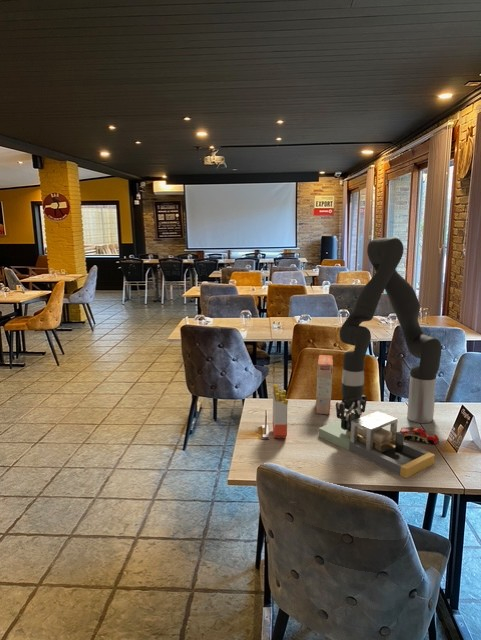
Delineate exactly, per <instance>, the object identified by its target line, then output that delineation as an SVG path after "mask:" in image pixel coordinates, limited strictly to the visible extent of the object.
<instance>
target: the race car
mask: <svg viewBox="0 0 481 640" xmlns="http://www.w3.org/2000/svg"><path fill="white" fill-rule="evenodd" d="M399 432H402V433H404V441H410V442H415V443H423V444H428V445H431V446H433V445H437V444H439V443H440V438H439V436H437V434H434V433H432V432H428V431H426V430H425V429H423V428H420V427H414V426H406V427H401V429H400V431H399Z"/></svg>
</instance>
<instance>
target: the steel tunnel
mask: <svg viewBox="0 0 481 640" xmlns="http://www.w3.org/2000/svg"><path fill="white" fill-rule="evenodd" d="M398 419H399V418H397V417H394V416H392V415H389V414H387V413H383V412H382V411H379V410H376V411H375V412H373V413H369V414H367V415H366V414H365V415H363V416H360V418H358V419H355V420H353V421H351V438H350V442H352V443H356V442H357V429H358V427H360V428H362V429H365V430H367V440H366V449H367V450H369V451H371V450H373V436H374V431H375V430H377V429H380V428H384V427H387V426H388V425H389V426H390V429H389V431H390V432H392V434H393V435H395V436H396V433H397V432H398Z"/></svg>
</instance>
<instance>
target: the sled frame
mask: <svg viewBox="0 0 481 640" xmlns="http://www.w3.org/2000/svg"><path fill="white" fill-rule="evenodd" d="M354 416H355V413H354V412H353V411H352V412H351V414H349V417H348V429H347V430H348V437H350V438H351V421H353V420H354ZM366 440H367V438H366V437H364V436H362V435H360V434H357V441H359V442H361V443H363V444H365V445H366ZM404 442H405V438H404V433H402V432H400V431H397V433H396V436H395V435H393V434H392V439H390V440H388V441H386V442H383V443H381V444H380V443H378V442H375V441H373V448H374V449H376V450H378V451H383V450H385V449H387V448H390V449H393V450H395V451H396V452H398V453H402V452H403V443H404Z"/></svg>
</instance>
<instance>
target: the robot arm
mask: <svg viewBox="0 0 481 640" xmlns="http://www.w3.org/2000/svg"><path fill="white" fill-rule="evenodd" d="M404 248H405V247H404V244H403V242H402V241H401V240H400V239H399V238H398V237H380V238H374V239H371V240H370V241H369V242H368V244H367V249H366V250H367V257H368V259H369V262H370V264H371V266H372V267H373V269H374V271H375V273H374V275H372V277H371V279H370V280H369V281H367V283H366V284H365V285H363V288H362V289H361V291H360V292H359V294H358V297H357V299H356V302H355V304H354V308H353V310H352V312H350V313H349V315H348V317H347V318H346V319H345V321H344V322H343V324H342V325H341V327H340V330H339V339H340V341H341V342H342V343H343V344H346V345H350V346H354V350H347V351H345V352H344V354H343V358H342V359H343V361H342V373H341V387H340V388H341V389H340V393H341V395H342V399H341V401H340V402H338V401H337V402H336V403H335V410H336V418H337V419H339V420H341V428H342V429H344V430H347V429H348V417H349V414H351V412H352V413H354V414H355V416H354V420H355V419H358V418H361V416H362V413H365V411H366V406H367V400H368V396H366V395H364V389H365V388H364V386H365V385H364V384H365V371H364V370H365V358H366V355H367V352H368V348H369V346H370V343H371V340H372V339H371V338H372V334H371V331H370V329H369V328H368V327H367V326H363V325H361V324H362V323H364V322H370V321H372V320H373V318H374V315H375V313H376V310H377V307H378V304H379V302H380V300H381V297H382V295H383V293H384V291H385V292H386V293H385V294H386V295H387V296H388V299H389V302H390V305H391V307H392V309H393V312H394V313H395V315H396V318H397V321H398V323H399V325H400V328H401V330H402V333H403V337H404V341H405V343H406V347H407V350H408V352H409V353H410V355H412V356H413V357H415V358H418V359H419V365H416V366H413V367H411V369H410V373H409V375H410V376H409V388H408V399H407V400H408V402H407V412H406V414H407V416H406V417H407V419H408V420H409V421H410V422H413V423H419V424H429V423H432V422H433V419H434V414H435V403H436V402H435V401H436V395H435V391H436V381H437V374H438V372H439V370H440V365H441V364H440V363H441V356H442V351H443V350H442V343H441V341H440V340H439V339H438V338H436V337H434V336H431V335H427V334H425V333H424V331H422V328H421V326H420V323H419V315H420V309H421V305H420V301H419V298H418V296H417V294H416V291H415V289H414V287H413V286H412V285H411V284H410V283H409V282H408V281H407V280H406V279H405V278H404V277H403V276H402V275H401V274H400V273H399V272H398V271H397V270H396V269H397V267H398V266H399V264H400V262H401V261H402V257H403V255H404V250H405V249H404Z"/></svg>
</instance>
